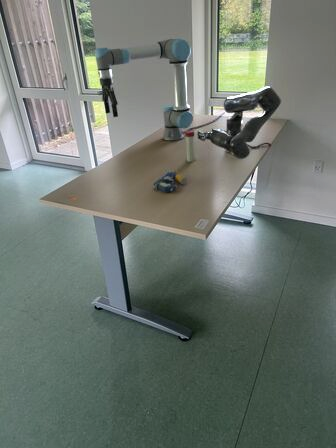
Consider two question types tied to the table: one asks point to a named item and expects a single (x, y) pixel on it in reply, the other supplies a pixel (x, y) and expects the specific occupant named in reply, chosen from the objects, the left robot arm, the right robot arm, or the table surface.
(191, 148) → the bottle
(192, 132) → the lid
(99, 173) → the table surface
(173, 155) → the table surface
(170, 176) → the spray gun
